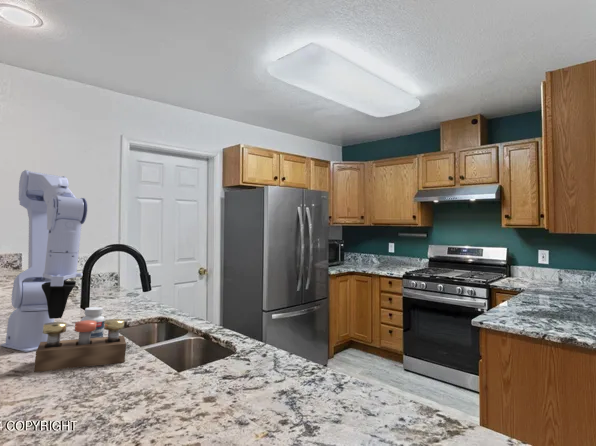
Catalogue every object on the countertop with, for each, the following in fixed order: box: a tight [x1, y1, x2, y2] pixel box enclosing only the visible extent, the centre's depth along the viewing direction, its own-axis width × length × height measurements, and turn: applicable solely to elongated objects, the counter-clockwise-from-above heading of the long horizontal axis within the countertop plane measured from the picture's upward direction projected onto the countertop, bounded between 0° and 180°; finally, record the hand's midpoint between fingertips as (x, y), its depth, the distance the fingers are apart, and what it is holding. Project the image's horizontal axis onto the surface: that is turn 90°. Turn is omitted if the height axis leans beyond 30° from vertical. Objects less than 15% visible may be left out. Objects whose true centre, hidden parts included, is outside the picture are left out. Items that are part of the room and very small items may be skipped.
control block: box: [33, 335, 127, 373], centre depth 74 cm, size 16×7×4 cm, turn 121°
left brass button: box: [43, 321, 68, 348], centre depth 72 cm, size 4×4×5 cm
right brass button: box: [104, 318, 125, 343], centre depth 77 cm, size 4×4×5 cm
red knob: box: [74, 320, 97, 345], centre depth 75 cm, size 4×4×5 cm
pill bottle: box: [80, 306, 106, 338], centre depth 87 cm, size 5×5×9 cm
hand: (56, 316), depth 72 cm, fingers open, 2 cm apart
